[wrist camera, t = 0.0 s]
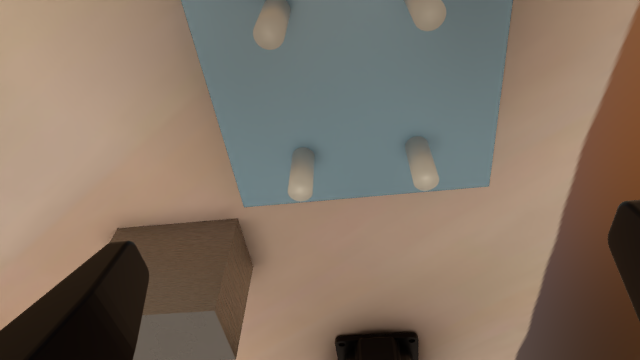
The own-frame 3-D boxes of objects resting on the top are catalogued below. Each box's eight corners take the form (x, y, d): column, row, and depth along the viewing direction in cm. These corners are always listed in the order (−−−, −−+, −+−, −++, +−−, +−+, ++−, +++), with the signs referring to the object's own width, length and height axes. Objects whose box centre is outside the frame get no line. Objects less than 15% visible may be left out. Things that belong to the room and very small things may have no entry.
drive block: (253, 265, 31) (235, 359, 25) (143, 273, 32) (102, 366, 26) (237, 217, 28) (214, 310, 23) (117, 227, 29) (66, 320, 23)
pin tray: (484, 175, 26) (505, 223, 22) (246, 196, 27) (235, 244, 24) (518, -113, 17) (560, -103, 14) (170, -62, 18) (137, -42, 15)
